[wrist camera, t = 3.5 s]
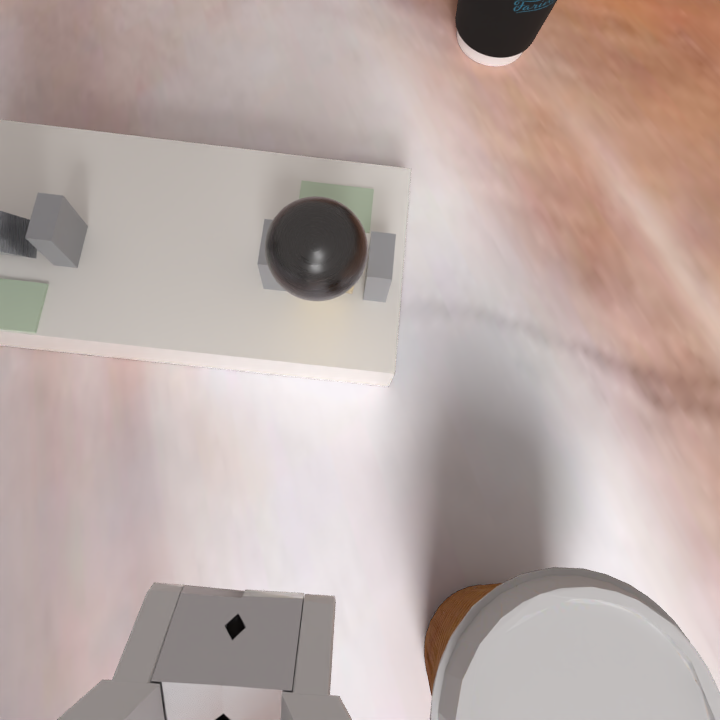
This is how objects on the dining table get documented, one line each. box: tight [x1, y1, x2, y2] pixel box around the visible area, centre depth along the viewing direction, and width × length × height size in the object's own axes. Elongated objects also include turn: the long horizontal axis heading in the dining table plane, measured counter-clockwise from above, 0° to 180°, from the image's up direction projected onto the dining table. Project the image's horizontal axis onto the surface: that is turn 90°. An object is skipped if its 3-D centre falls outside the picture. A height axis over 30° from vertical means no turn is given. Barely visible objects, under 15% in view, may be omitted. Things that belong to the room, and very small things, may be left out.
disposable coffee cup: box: [424, 567, 720, 720], centre depth 23 cm, size 10×10×12 cm
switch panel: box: [0, 119, 411, 387], centre depth 31 cm, size 12×24×6 cm, turn 85°
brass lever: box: [265, 196, 368, 301], centre depth 23 cm, size 3×3×12 cm
